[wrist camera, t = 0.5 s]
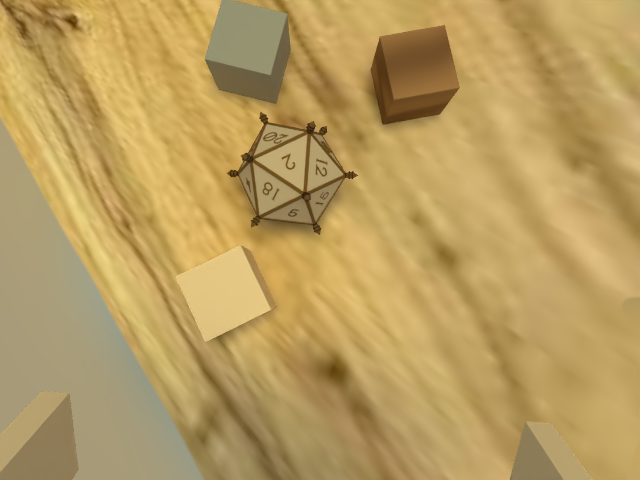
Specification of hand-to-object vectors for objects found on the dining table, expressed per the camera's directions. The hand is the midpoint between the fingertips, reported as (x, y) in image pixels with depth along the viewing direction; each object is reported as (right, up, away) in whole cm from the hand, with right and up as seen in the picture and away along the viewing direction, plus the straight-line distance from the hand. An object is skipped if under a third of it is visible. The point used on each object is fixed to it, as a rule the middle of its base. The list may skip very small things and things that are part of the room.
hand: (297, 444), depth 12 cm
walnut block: (+8, +19, +24) cm, 32 cm away
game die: (-2, +10, +23) cm, 26 cm away
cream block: (-6, +2, +22) cm, 23 cm away
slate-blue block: (-5, +21, +24) cm, 32 cm away
